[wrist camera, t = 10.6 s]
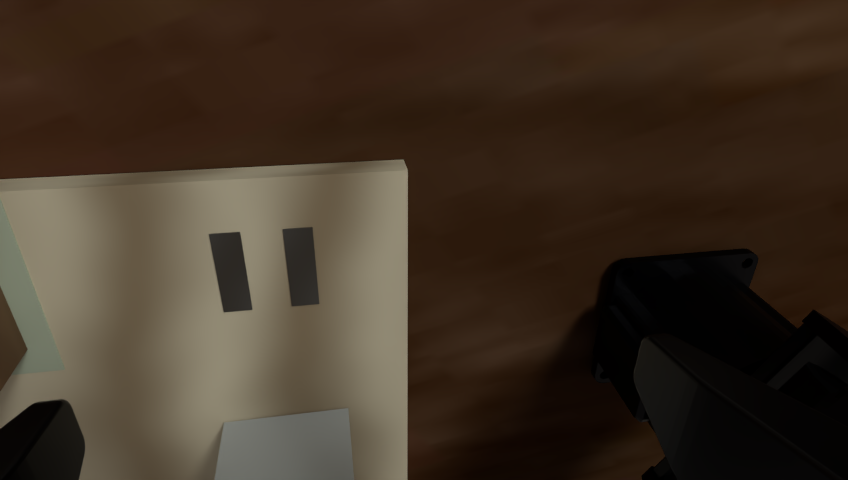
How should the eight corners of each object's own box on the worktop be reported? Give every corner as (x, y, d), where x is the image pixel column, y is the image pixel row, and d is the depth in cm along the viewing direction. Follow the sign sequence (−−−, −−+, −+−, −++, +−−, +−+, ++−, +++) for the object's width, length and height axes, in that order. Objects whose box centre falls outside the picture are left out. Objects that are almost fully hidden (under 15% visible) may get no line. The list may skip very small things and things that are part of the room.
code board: (403, 159, 20) (407, 171, 19) (404, 468, 28) (407, 486, 27) (-267, 192, 17) (-298, 207, 16) (-54, 530, 25) (-68, 553, 24)
